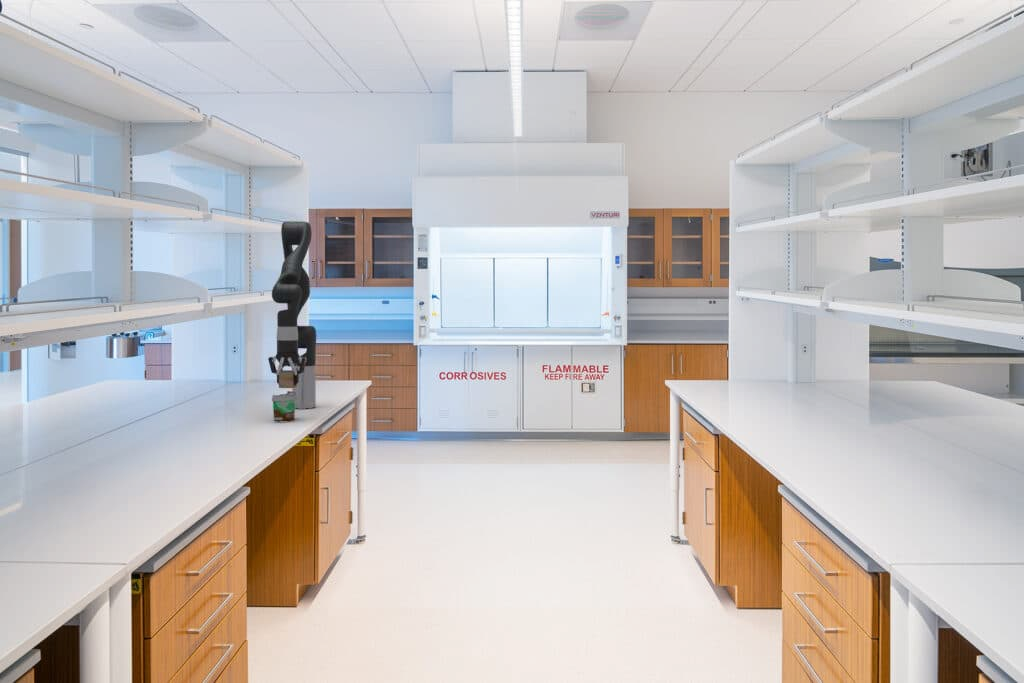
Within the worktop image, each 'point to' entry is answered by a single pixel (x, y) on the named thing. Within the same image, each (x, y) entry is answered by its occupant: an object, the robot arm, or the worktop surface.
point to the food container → (284, 406)
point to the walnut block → (286, 379)
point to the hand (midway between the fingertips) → (287, 384)
